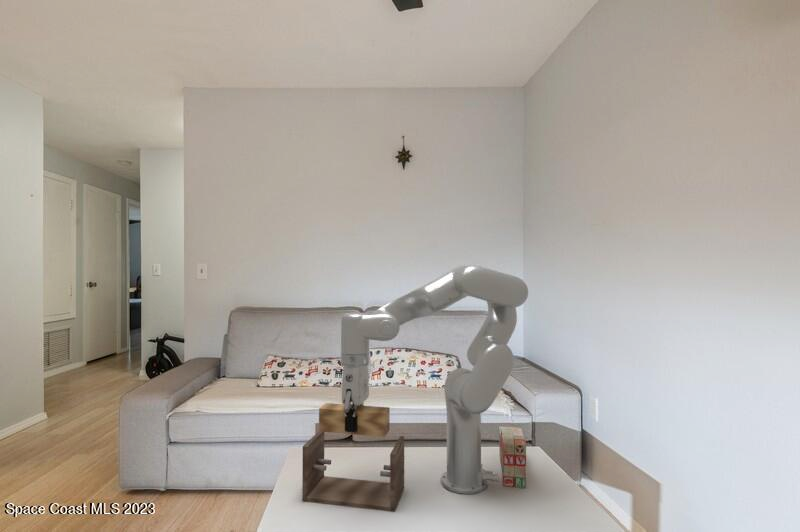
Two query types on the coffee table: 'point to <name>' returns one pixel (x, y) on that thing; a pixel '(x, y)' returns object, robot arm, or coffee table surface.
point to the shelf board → (368, 419)
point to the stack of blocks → (512, 457)
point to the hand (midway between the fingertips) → (354, 427)
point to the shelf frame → (351, 480)
